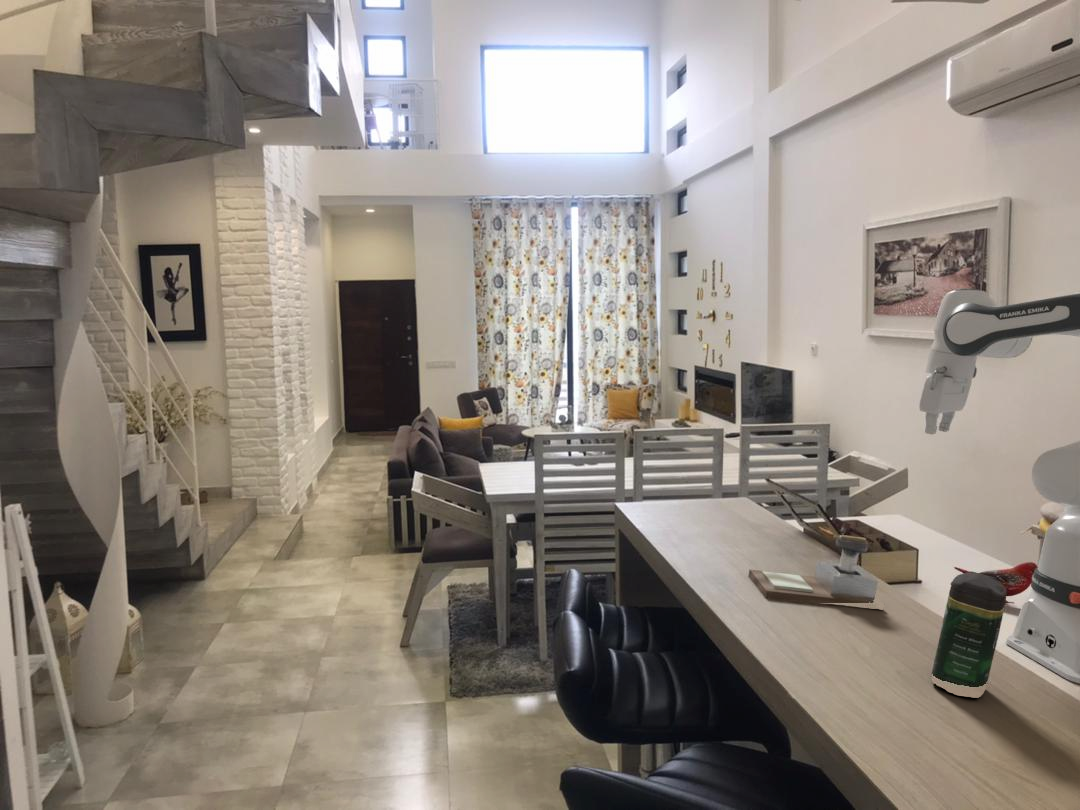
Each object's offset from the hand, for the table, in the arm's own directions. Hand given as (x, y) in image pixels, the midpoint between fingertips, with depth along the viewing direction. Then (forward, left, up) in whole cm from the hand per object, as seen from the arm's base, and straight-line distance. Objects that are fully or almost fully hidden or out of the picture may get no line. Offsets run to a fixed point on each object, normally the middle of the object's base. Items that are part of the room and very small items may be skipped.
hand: (936, 432), depth 169 cm
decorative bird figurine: (0, -19, -35) cm, 40 cm away
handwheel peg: (-7, +17, -34) cm, 38 cm away
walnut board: (-7, +23, -35) cm, 43 cm away
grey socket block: (-7, +17, -34) cm, 38 cm away
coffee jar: (-44, +13, -35) cm, 58 cm away
